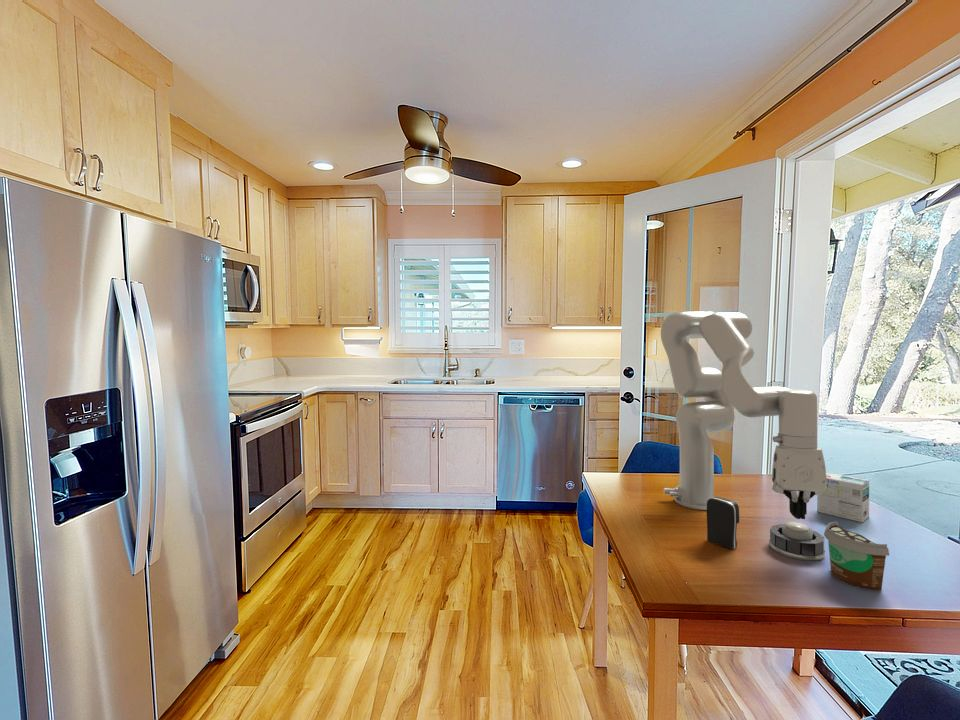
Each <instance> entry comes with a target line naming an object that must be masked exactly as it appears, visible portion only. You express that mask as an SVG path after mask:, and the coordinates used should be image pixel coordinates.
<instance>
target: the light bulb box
mask: <svg viewBox="0 0 960 720" xmlns="http://www.w3.org/2000/svg"><path fill="white" fill-rule="evenodd" d="M826 478H827V487H826V489H825V490H824V494H819V495H816V496H817V499H816V500H817V506H816V507H817V509H816V511H817V512H818V513H821V514H826V515H830V516H834V517H839V518H843V519H847V520H851V521H855V522H859V523H864V522H865V521H866V520H867V519H869V517H870V480H869V479H865V478H859V477H853V476H850V475H849V476H848V475H843V474H836V473H831V472H827V471H826Z"/></svg>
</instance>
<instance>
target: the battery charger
mask: <svg viewBox="0 0 960 720" xmlns="http://www.w3.org/2000/svg"><path fill="white" fill-rule="evenodd" d="M739 523H740V506H739V505H738V503H737V502H735V500H731V499H729V498H724V497H720V496H714V497H713V498H710V499H709V500H708V501H707V510H706V530H707V532H706V533H707V536H706V539H707V541H708V542H712V543H714V544H716V545H719V546H722V547H724V548H728V549H730V550H734V549H736V548H737V546H738V542H737V525H738V524H739Z"/></svg>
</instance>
